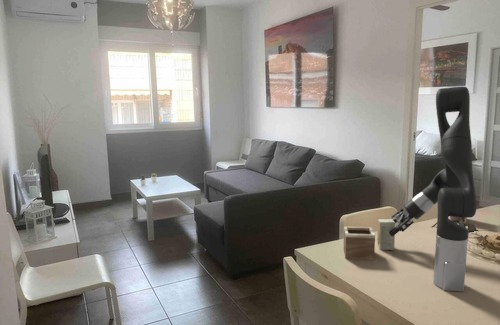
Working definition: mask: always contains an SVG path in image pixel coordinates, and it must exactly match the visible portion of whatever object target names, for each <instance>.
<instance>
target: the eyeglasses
mask: <svg viewBox="0 0 500 325" xmlns="http://www.w3.org/2000/svg"><path fill="white" fill-rule="evenodd" d="M453 222H454V223H458V224H459V225H461V226H463V227H465V228H466V227H467V230H468V234H469V233H470V232H474V231H478V232H479V229H477V228H476V226H475V225H474V224H473V223H469V224H467V223H466V222H465V220H464V219H459V220H456V221H453ZM435 226H437V222H436V223H435V224H433V225H432V226H431V228H434V227H435Z"/></svg>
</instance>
